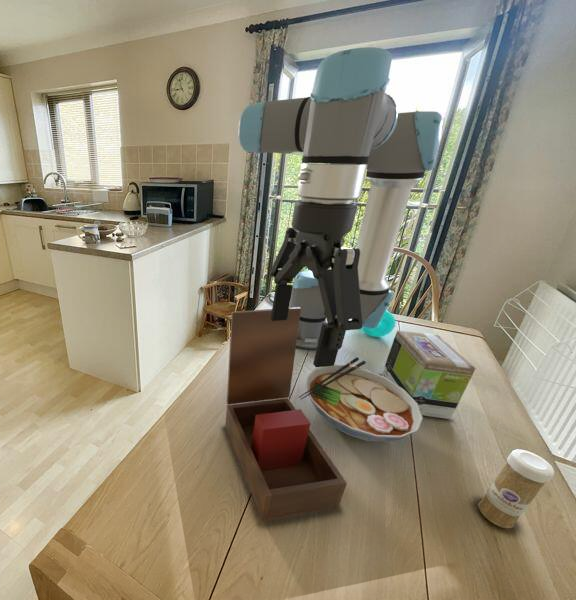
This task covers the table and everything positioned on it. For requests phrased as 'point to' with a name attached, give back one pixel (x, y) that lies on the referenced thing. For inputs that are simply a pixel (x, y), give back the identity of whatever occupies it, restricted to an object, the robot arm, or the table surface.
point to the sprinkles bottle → (515, 488)
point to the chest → (285, 481)
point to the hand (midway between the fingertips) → (298, 339)
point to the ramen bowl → (362, 402)
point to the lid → (261, 355)
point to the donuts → (382, 326)
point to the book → (279, 439)
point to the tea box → (428, 372)
